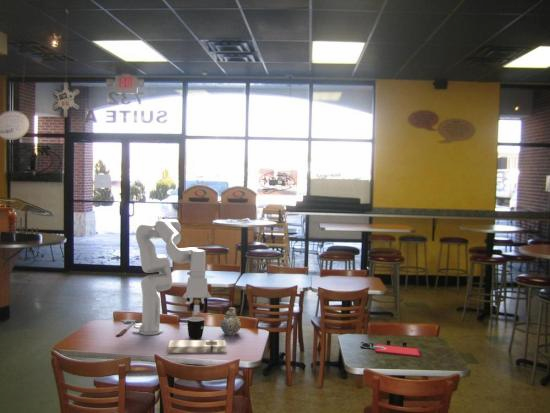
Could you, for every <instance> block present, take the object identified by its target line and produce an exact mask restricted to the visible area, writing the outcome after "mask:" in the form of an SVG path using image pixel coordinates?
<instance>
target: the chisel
mask: <svg viewBox="0 0 550 413" xmlns="http://www.w3.org/2000/svg"><path fill="white" fill-rule="evenodd" d="M119 321H121V322H122V323H123V324H125V325H127V324H128V326H126V328H123V329H122V330H121V331H120V332H119V333H118V334H116V335H115V337H117V338H120V337H123V335H125V333H127V331H128V330H129V329H130V328H131V327H132V326H134V324H137V323H139V324H140V323H142V320H138V319H129V318H128V319H121V320H120V319H119Z"/></svg>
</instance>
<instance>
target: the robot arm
mask: <svg viewBox="0 0 550 413" xmlns="http://www.w3.org/2000/svg"><path fill="white" fill-rule="evenodd" d="M181 230H182V225H181V223H180V221H178V219H175V218H174V219H173V218H171V219H170V218H169V219H167V218H166V219H159V220H157V221H156V222H154V223H151V222H150V223H143V224H140V225H139V226H138V227H137V228H136V230H135V238H136V242H137V245H138V249H139V255H140V256H139V257H140V263H141V270H142V271H143V273H158V274H150V275H146V276H144V277H143V278H142V279H141V281H140V287H141V294H142V297H141V298H142V299H141V300H142V303H141V304H142V307H141V308H142V309H141V310H142V312H141V315H142V316H141V321H142V322H141V323H139V324H137V323H135V324H133V329H135V330H137V329H138V333H139V334H141V335H145V336H153V335H154V336H155V335H159V334H162V333H163V328H161V327H160V323H161V322H160V320H161V317H160V316H161V299H160V297H159V294H158V292H164V291H168V290H170V289H171V288H172V286H173V276H172V268H171V262H170V259H171V261H173V262H174V263H176V264H180V265H181V264H187V263H189V267H190V268H189V271H187V272H186V275H188V278H187V283H186V284H187V285H186V291H185V293H184V294H183V295H182V298H183V299H185V300H186V301H187V302H188V303H189V310H190V312H193V298H201V313H202V312H203V310H204V307H205V306H204V305H205V302H207V301H208V300H210V299H211V298H212V295H211V294H210V292H209V290H208V289H209V288H208V278H207V276H206V263H207V262H206V260H207V259H206V254H207V251H206V250H204V249H201V248H200V249H198V248H197V247H180V248H179V247H177V245H178V244H179V243H180V241H181V238H182V236H181V233H180V232H181ZM153 239H162V241H163V242H164V243H166V244H165V251H166V254H167V255H166V254H157V252H156V247H155V244H154V243H153V241H152V240H153ZM169 258H170V259H169Z"/></svg>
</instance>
